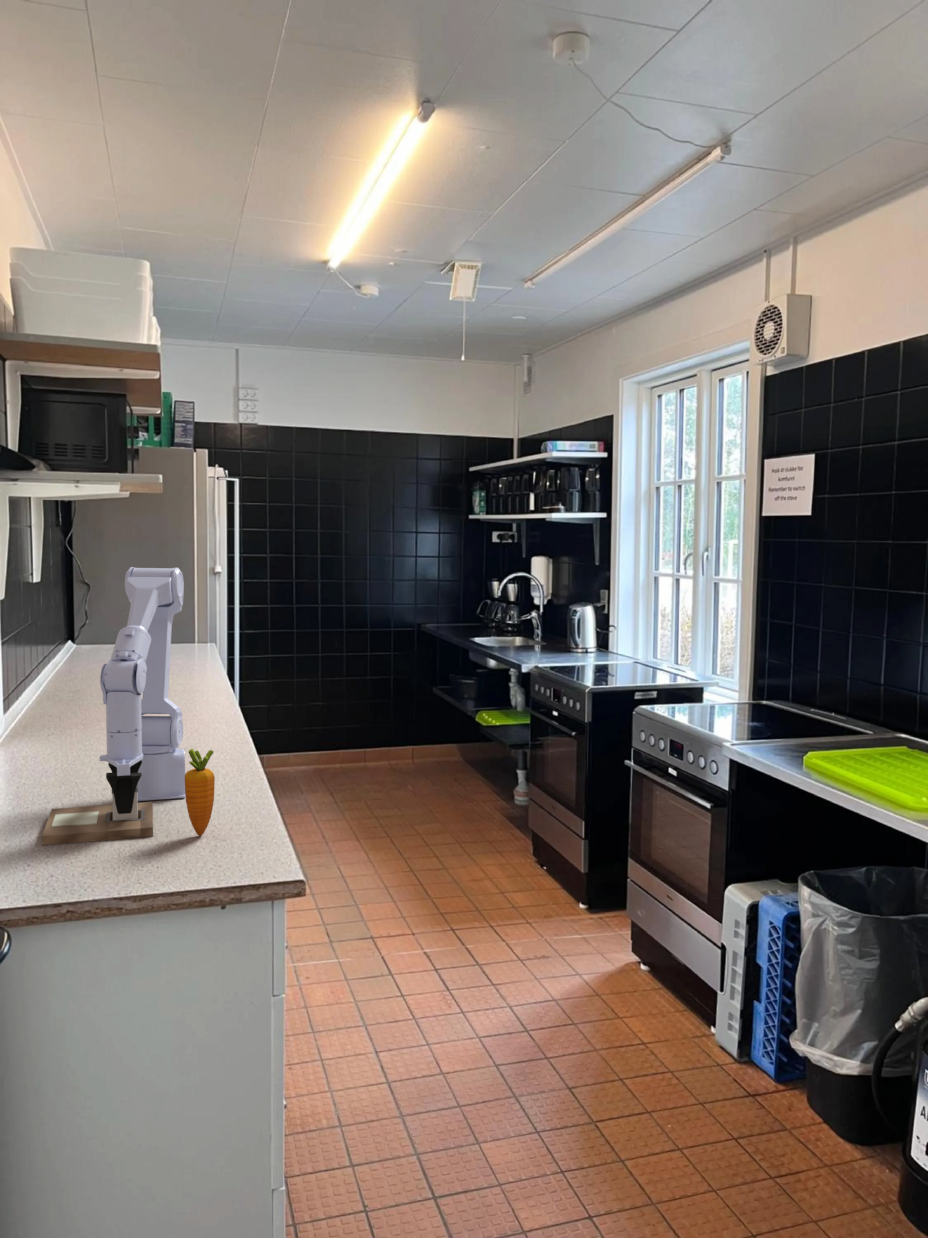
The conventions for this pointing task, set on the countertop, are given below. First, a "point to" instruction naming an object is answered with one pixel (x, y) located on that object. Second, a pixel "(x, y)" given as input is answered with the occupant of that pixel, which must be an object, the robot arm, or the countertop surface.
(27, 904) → the countertop surface
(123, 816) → the plug
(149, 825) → the brown board with panel
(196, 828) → the carrot
